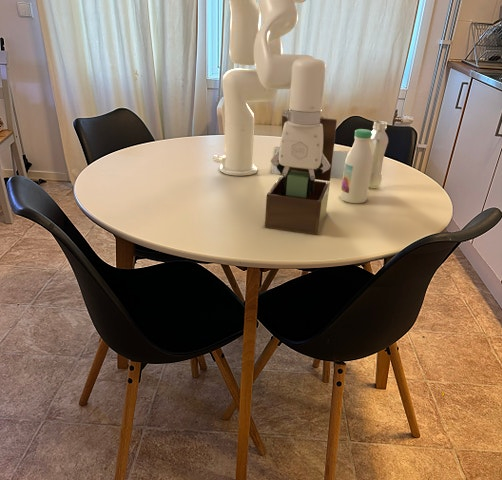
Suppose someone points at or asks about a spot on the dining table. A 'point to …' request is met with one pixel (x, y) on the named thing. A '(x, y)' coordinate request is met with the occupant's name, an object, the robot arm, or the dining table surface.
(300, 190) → the green cube
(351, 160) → the milk bottle
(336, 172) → the architectural model
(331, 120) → the tea box lid
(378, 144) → the plastic bottle
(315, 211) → the tea box
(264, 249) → the dining table surface
